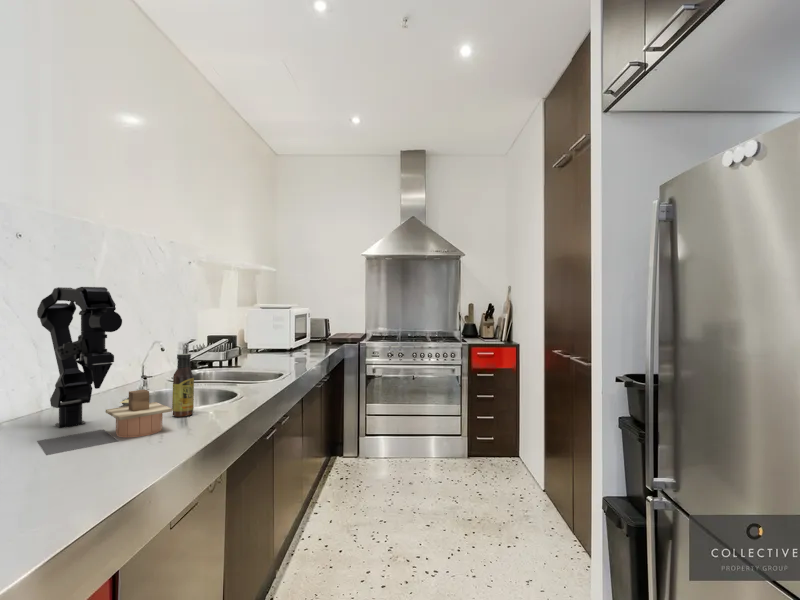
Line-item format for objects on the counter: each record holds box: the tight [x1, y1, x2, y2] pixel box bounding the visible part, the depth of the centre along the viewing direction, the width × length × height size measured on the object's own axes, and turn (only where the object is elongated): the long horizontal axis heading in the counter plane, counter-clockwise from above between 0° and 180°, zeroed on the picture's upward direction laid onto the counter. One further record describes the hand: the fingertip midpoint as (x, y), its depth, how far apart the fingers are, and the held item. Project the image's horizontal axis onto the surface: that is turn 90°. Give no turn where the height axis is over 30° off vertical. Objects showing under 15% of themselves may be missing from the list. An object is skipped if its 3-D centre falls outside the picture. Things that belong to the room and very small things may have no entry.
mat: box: [36, 428, 119, 456], centre depth 117 cm, size 16×15×1 cm
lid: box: [105, 389, 173, 420], centre depth 126 cm, size 13×13×6 cm
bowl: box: [115, 413, 163, 438], centre depth 126 cm, size 11×11×6 cm
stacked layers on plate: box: [118, 398, 129, 408], centre depth 145 cm, size 10×9×6 cm
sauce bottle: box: [171, 353, 195, 418], centre depth 146 cm, size 6×6×20 cm
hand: (93, 386), depth 127 cm, fingers open, 9 cm apart
